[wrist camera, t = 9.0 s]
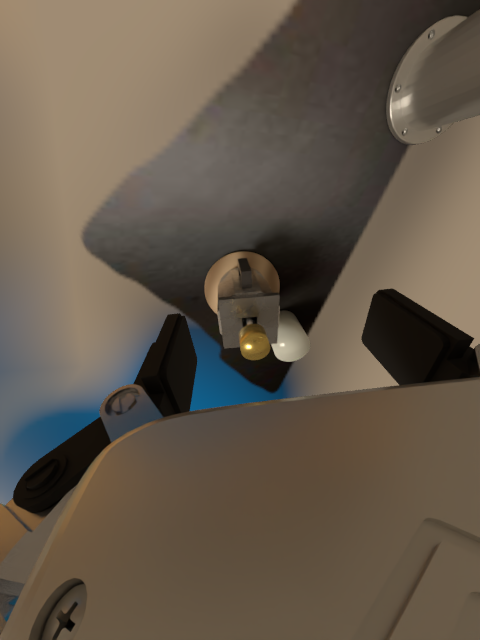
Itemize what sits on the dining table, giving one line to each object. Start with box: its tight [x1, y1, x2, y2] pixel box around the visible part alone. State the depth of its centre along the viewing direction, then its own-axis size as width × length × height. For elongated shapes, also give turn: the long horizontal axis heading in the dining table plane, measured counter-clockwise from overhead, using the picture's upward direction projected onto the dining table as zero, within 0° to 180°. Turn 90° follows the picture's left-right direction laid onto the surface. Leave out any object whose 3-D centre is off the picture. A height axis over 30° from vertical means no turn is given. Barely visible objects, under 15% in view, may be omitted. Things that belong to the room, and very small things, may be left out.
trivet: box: [205, 251, 280, 314], centre depth 45 cm, size 16×16×1 cm
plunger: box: [239, 317, 270, 360], centre depth 36 cm, size 8×8×18 cm
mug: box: [272, 310, 310, 362], centre depth 47 cm, size 8×9×9 cm
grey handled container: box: [217, 258, 280, 348], centre depth 38 cm, size 10×13×13 cm
